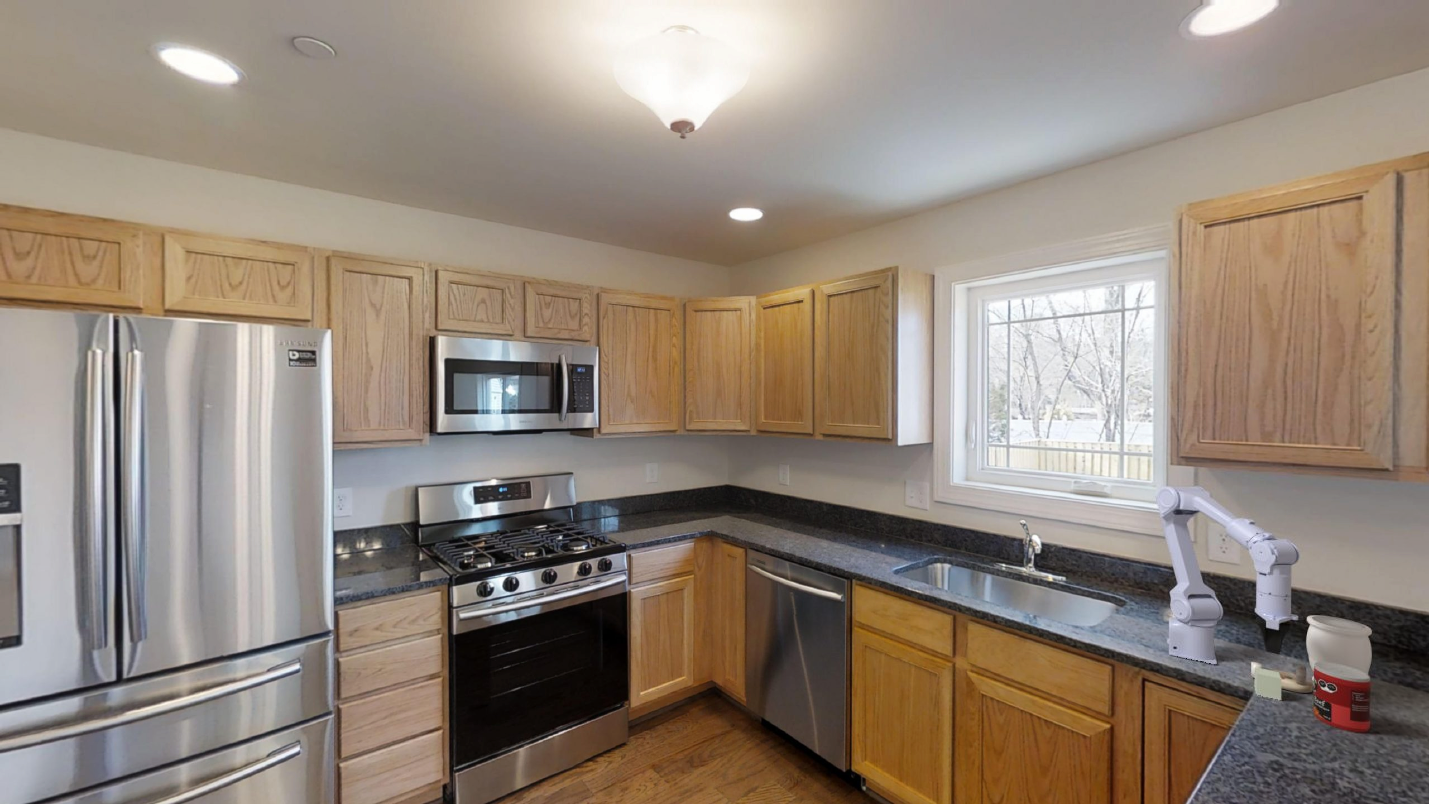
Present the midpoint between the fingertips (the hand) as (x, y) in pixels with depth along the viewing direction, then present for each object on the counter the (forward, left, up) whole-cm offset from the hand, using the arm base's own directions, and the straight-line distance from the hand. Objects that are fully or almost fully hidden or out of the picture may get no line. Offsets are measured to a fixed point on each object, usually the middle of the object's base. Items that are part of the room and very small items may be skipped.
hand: (1272, 652), depth 132 cm
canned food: (+9, -7, -10) cm, 15 cm away
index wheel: (+4, +8, -10) cm, 13 cm away
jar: (+13, +15, -10) cm, 22 cm away
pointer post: (-2, +8, -10) cm, 13 cm away
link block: (-1, -1, -10) cm, 10 cm away
